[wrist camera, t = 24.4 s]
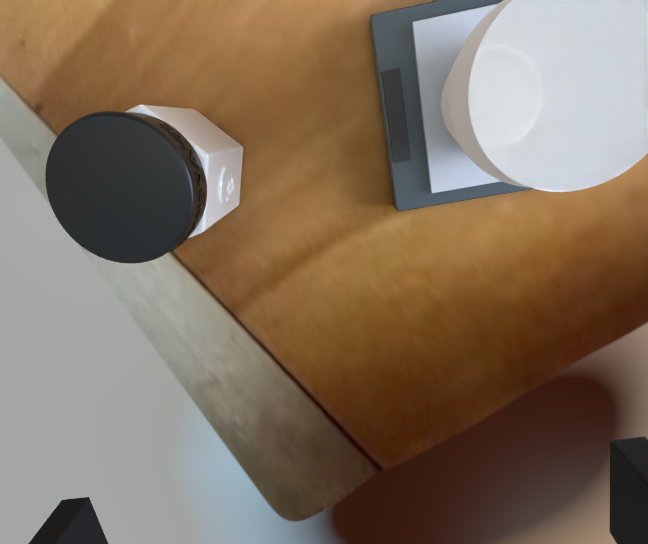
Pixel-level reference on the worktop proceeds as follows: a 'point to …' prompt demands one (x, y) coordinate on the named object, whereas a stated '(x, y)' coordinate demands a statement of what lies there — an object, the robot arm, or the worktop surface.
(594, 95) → the cup
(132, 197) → the jar
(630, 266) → the worktop surface
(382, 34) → the scale
